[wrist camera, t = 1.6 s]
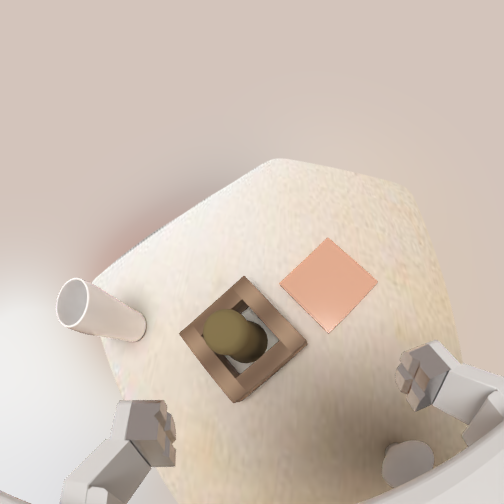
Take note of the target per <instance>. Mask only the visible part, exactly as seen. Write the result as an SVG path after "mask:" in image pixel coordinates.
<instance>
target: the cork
mask: <svg viewBox="0 0 504 504" xmlns="http://www.w3.org/2000/svg"><path fill="white" fill-rule="evenodd" d="M203 337H204V340H205V342H206V344H207V346H208V347H209V348H210V349H211V350H212V351H214V352H216V353H218V354H221V355H229V356H231V357H232V358H233V359H234V360H236V361H238V362H241V363H250V362H254V361H256V360H258V359H259V358H260V357H261V356H262V355H263V354H264V353H265V351H266V348H267V343H268V340H267V335H266V333H265V331H264V329H263V328H262V327H261V326H260V325H258V324H256V323H254V322H251V321H247V320H246V319H245V318H244V317H243V316H242V315H241V314H240V313H239V312H237V311H235V310H232V309H221V310H217V311H215V312H214V313H212V314H211V315H210V316H209V317H208V318H207V319H206V322H205V324H204V327H203Z"/></svg>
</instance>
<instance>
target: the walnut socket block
mask: <svg viewBox="0 0 504 504" xmlns="http://www.w3.org/2000/svg"><path fill="white" fill-rule="evenodd" d="M248 307H250V308H251V309H252V310H253V312H254V313H255V314H256V315H257V316H258V317H259V318H260V319H261V320H262V321H263V322H264V324H265V325H266V326H267V327H268V328H269V329H270V330H271V331H272V332H273V333H274V334H275V335H276V337H277V338H278V339H279V341H278V342H277V343H276V344H275V345H274V346H273V347H272V348H270V349H269V350H268V351H267V352H266V353H265V354H264V355H262V356H261V357H260V358H259V359H258V360H257V361H256V362H254V363H253V364H252V365H251V366H250V367H249V368H247V369H246V370H245V371H244V372H243V373H241V374H239V373H238V372H237V371H236V369H235V368H234V367H233V366H232V365H231V363H230V362H229V361H228V360H227V359H226V357H225V356H224V355H221V354H218V353H216V352H214V351H212V350H211V349H210V348H209V347H208V346H207V344H206V342H205V340H204V337H203V327H204V324H205V322H206V319H207V318H208V317H209V316H210V315H211V314H212V313H214V312H215V311H217V310H221V309H232V310H235V311H237V312H239V313H240V314H241V313H242V312H243V311H244V310H245V309H247V308H248ZM179 334H180V336H181V337H182V338H183V340H184V341H185V343H186V344H187V345H188V347H189V348H190V349H191V351H192V352H193V353H194V355H195V356H196V357H197V359H198V360H199V361H200V363H201V364H202V365H203V367H204V368H205V369H206V370H207V372H208V373H209V374H210V375H211V377H212V378H213V379H214V380H215V382H216V383H217V384H218V385H219V387H220V388H221V389H222V390H223V392H224V393H225V394H226V395H227V396H228V398H229V399H230V400H231V401H232V402H233V403H236V402H240V401H242V400H243V399H245V398H246V397H247V396H248V395H250V394H251V393H252V392H253V391H254V390H256V389H257V388H258V387H259V386H260V385H262V384H263V383H264V382H265V381H266V380H268V379H269V378H270V377H271V376H272V375H273V374H275V373H276V372H277V371H278V370H279V369H280V368H281V367H283V366H284V365H285V364H286V363H287V362H288V361H289V360H291V359H292V358H293V357H294V356H295V355H296V354H297V353H298V352H299V351H300V350H302V349H303V348H304V347H305V346H306V345H307V341H306V340H305V339H304V338H303V337H302V336H301V335H300V334H299V333H298V332H297V331H296V329H295V328H294V327H293V326H292V325H291V324H290V323H289V322H288V321H287V320H286V319H285V318H284V317H283V316H282V315H281V314H280V313H279V312H278V311H277V310H276V309H275V308H274V307H273V305H272V304H271V303H270V302H269V301H268V300H267V299H266V298H265V297H264V296H263V295H262V294H261V293H260V292H259V291H258V290H257V289H256V288H255V286H254V285H253V284H252V283H251V282H250V281H249V280H248V279H247V278H246V277H245V276H243V277H242V278H241V279H240V280H239V281H238V282H236V283H235V284H234V285H233V286H232V287H231V288H230V289H229V290H228V291H226V292H225V293H224V294H223V295H222V296H221V297H220V298H219V299H217V300H216V301H215V302H214V303H213V304H212V305H211V306H210V307H208V308H207V309H206V310H205V311H204V312H203V313H202V314H201V315H199V316H198V317H197V318H196V319H195V320H194V321H193V322H192V323H190V324H189V325H188V326H187V327H186V328H185V329H184V330H182V331H181V332H180V333H179Z"/></svg>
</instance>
